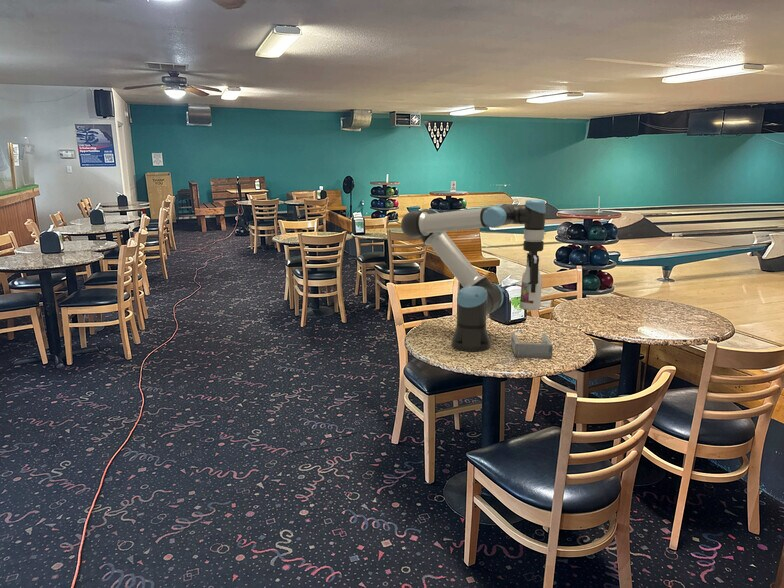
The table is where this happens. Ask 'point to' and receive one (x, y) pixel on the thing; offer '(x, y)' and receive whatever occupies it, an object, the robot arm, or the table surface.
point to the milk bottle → (525, 291)
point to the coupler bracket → (532, 348)
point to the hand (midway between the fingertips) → (530, 297)
